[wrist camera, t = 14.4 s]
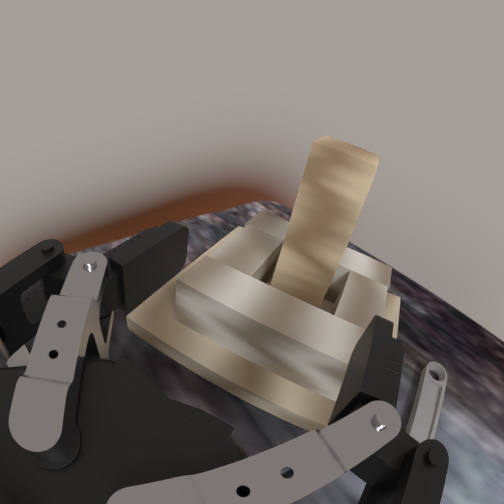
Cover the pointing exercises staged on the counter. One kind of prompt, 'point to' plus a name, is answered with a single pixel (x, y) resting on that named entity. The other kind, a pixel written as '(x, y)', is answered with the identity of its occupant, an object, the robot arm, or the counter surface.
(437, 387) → the adjustable wrench
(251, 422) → the counter surface
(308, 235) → the tan long rectangular block
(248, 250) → the wooden socket base
